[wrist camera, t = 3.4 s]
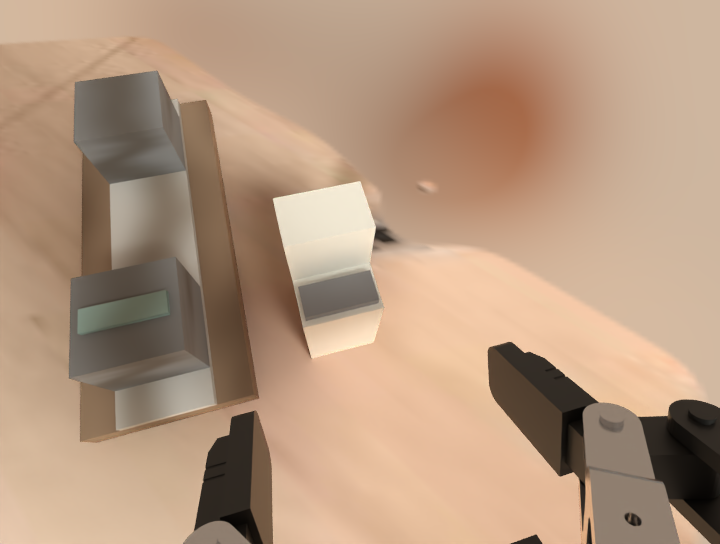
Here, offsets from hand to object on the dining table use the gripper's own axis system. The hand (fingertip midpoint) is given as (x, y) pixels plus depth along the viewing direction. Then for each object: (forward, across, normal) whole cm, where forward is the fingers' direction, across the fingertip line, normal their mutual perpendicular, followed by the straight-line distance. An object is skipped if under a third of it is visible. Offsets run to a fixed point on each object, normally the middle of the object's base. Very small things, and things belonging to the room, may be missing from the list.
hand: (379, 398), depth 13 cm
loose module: (+13, 0, +3) cm, 13 cm away
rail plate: (+18, +10, -2) cm, 21 cm away
